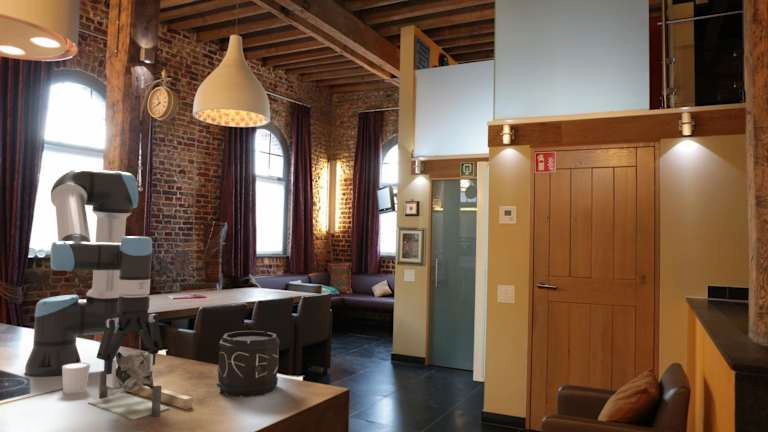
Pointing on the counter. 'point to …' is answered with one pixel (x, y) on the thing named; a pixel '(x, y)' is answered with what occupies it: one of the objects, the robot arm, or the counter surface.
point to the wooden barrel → (248, 363)
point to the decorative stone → (133, 371)
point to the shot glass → (75, 377)
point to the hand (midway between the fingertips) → (129, 382)
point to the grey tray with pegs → (139, 400)
